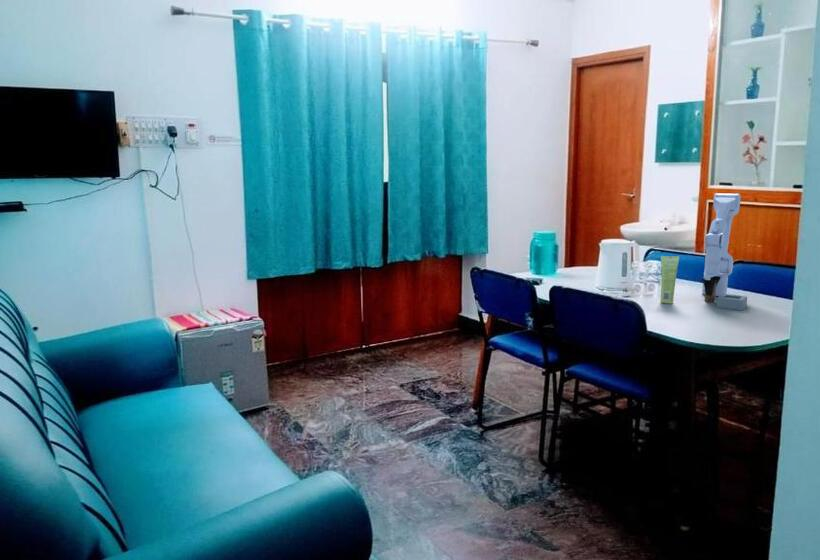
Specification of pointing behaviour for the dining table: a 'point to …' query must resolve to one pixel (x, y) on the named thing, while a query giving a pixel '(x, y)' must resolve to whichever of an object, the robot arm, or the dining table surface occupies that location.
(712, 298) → the peg
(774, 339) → the dining table surface
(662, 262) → the tube
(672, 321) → the dining table surface
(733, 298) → the socket block
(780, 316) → the dining table surface
